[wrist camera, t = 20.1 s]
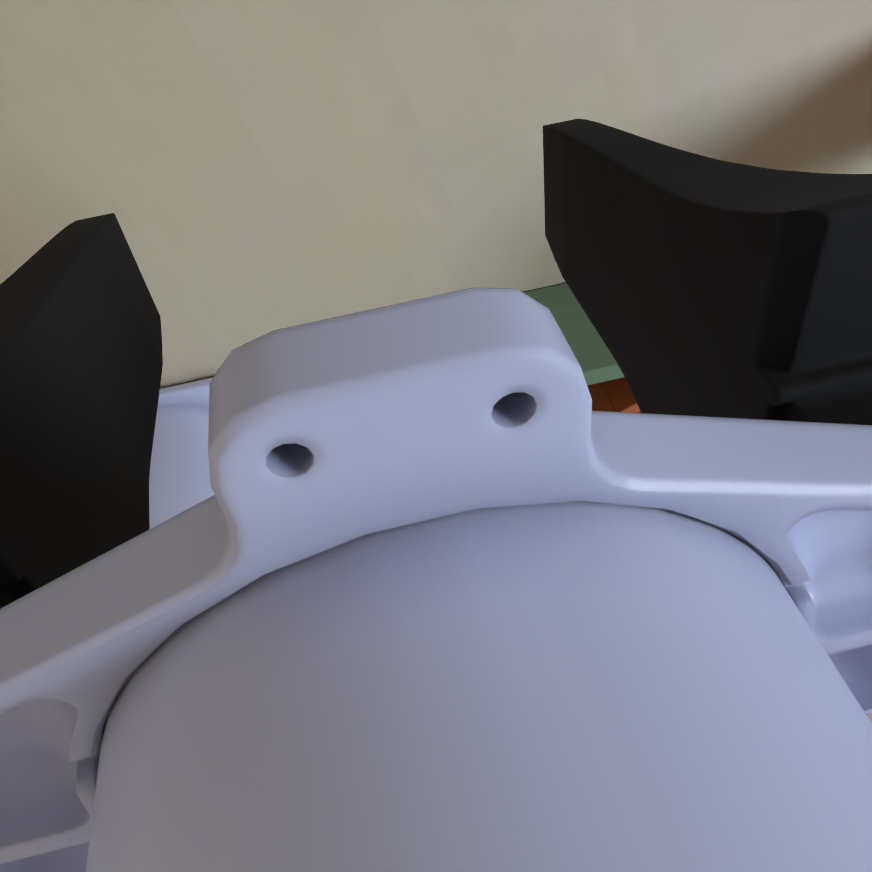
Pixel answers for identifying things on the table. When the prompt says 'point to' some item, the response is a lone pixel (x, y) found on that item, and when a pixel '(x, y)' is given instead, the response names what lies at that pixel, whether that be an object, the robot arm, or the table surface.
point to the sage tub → (579, 333)
